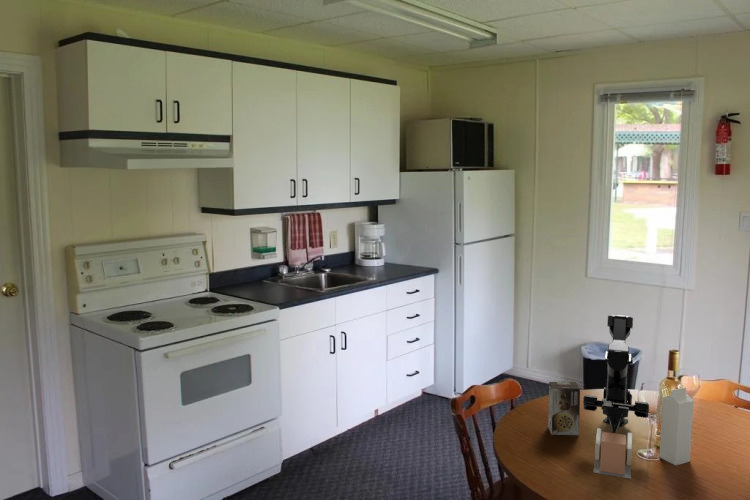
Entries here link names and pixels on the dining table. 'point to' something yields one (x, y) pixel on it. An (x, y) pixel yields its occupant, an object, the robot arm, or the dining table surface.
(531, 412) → the dining table surface
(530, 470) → the dining table surface
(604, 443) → the block
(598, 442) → the chute
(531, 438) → the dining table surface
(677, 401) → the milk
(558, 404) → the coffee box
